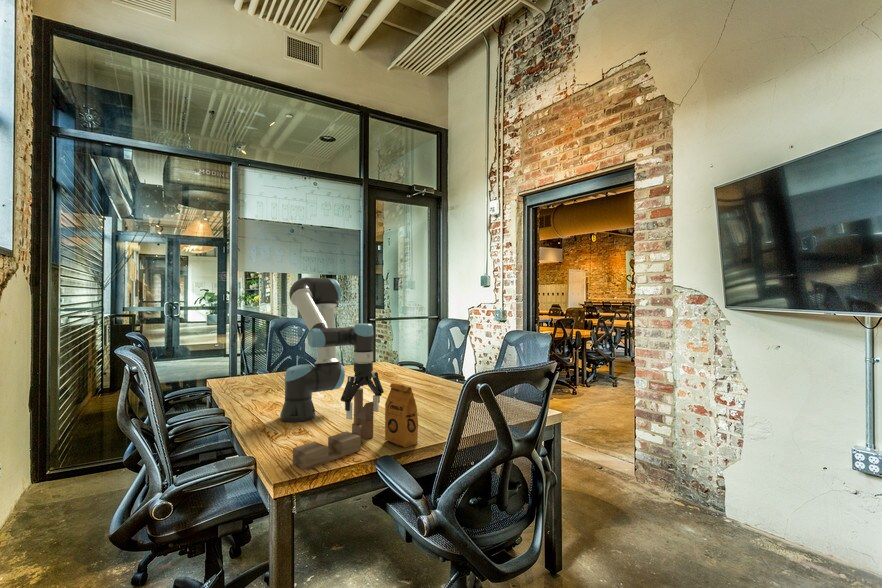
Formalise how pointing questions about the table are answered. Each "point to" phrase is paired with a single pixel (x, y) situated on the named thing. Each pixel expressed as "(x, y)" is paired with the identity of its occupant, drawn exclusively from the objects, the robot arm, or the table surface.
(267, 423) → the table surface
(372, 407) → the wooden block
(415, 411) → the coffee package
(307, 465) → the slotted sill
